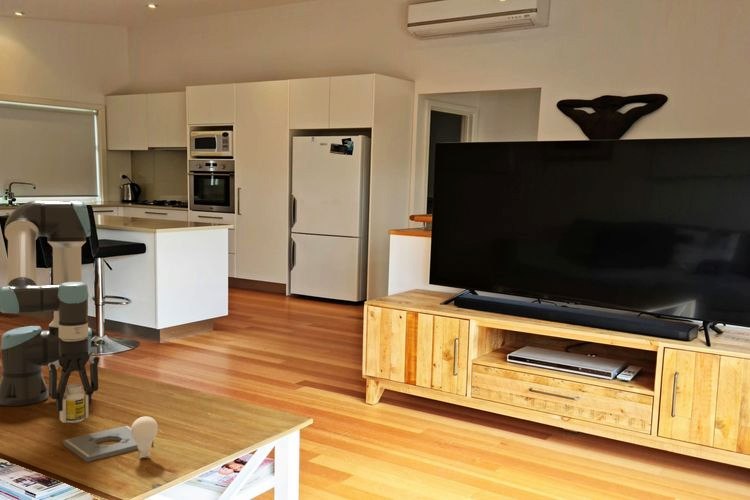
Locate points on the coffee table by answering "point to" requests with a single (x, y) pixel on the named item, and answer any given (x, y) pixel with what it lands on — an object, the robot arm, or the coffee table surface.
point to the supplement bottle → (74, 403)
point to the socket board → (92, 451)
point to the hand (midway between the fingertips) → (74, 418)
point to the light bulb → (144, 434)
